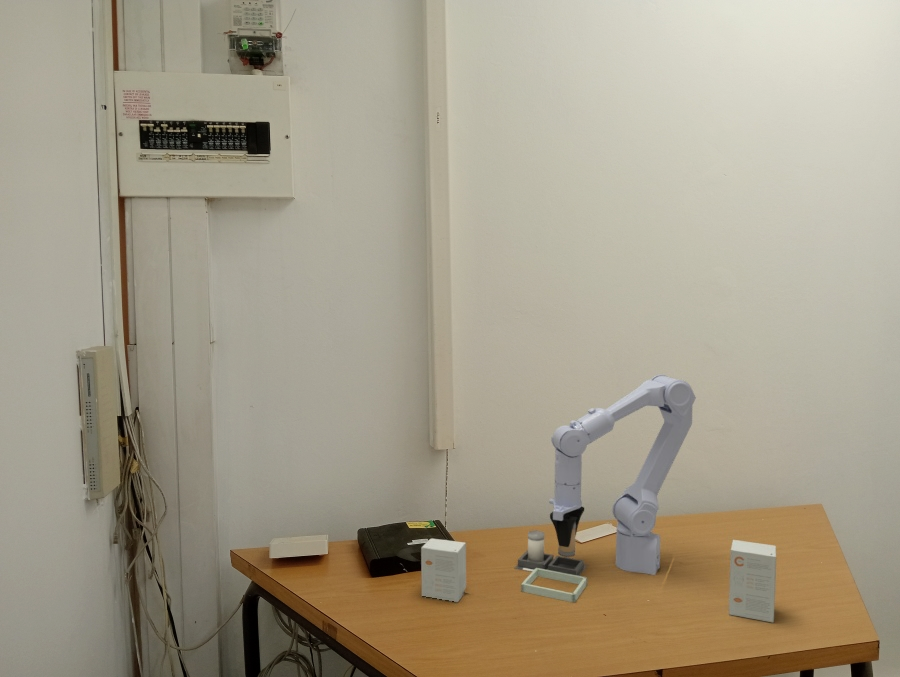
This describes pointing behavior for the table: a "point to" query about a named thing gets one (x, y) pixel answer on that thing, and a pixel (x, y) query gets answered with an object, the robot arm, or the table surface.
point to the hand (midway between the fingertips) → (566, 542)
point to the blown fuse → (571, 549)
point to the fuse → (536, 546)
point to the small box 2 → (752, 580)
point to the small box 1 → (443, 569)
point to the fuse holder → (552, 564)
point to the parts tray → (551, 592)
